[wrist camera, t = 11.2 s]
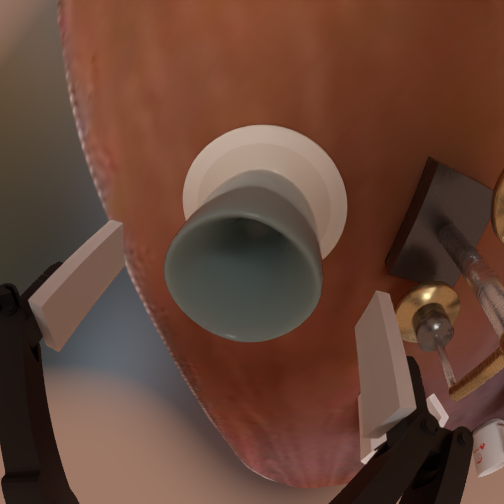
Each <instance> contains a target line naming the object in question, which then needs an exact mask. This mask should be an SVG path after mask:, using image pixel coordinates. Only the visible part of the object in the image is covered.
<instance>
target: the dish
mask: <svg viewBox="0 0 504 504" xmlns="http://www.w3.org/2000/svg"><path fill="white" fill-rule="evenodd" d="M254 169H265V170H270V171H274V172H276V173H279V174H281V175H283V176H284V177H286V178H287V179H289V180H290V181H292V182H293V183H294V184H295V185H296V186H297V187H298V188H299V189H300V190H301V192H302V193H303V194H304V196H305V197H306V198H307V200H308V202H309V204H310V206H311V208H312V210H313V213H314V216H315V219H316V223H317V227H318V232H319V237H320V244H321V253H322V260H323V259H324V258H325V257H326V256H327V255H328V254H329V253H330V252H331V251H332V250H333V248H334V247H335V245H336V244H337V242H338V241H339V239H340V236H341V234H342V232H343V229H344V226H345V223H346V217H347V196H346V190H345V186H344V183H343V180H342V178H341V176H340V173H339V171H338V169H337V167H336V165H335V164H334V162H333V161H332V159H331V158H330V156H329V155H328V154H327V153H326V152H325V151H324V149H322V148H321V147H320V146H319V145H318V144H317V143H316V142H314V141H313V140H311V139H310V138H308V137H307V136H305V135H303V134H301V133H299V132H297V131H295V130H292V129H289V128H286V127H282V126H277V125H268V124H257V125H248V126H244V127H240V128H237V129H234V130H232V131H229V132H227V133H225V134H223V135H222V136H220V137H218V138H217V139H215V140H214V141H212V142H211V143H210V144H208V145H207V146H206V147H205V148H204V149H203V150H202V151H201V152H200V153H199V155H198V156H197V157H196V159H195V160H194V162H193V163H192V165H191V167H190V169H189V171H188V174H187V177H186V180H185V184H184V189H183V209H184V214H185V219H186V221H187V219H188V218H189V217H190V216H191V215H192V213H193V212H194V211H195V210H196V209H197V207H198V206H199V205H200V204H201V203H202V202H203V200H204V199H205V198H206V197H207V196H208V195H209V194H210V193H211V192H212V191H213V190H214V189H216V188H217V187H218V186H219V185H221V184H222V183H223V182H224V181H226V180H227V179H229V178H231V177H233V176H235V175H237V174H239V173H241V172H245V171H248V170H254Z"/></svg>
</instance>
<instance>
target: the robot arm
mask: <svg viewBox="0 0 504 504" xmlns="http://www.w3.org/2000/svg"><path fill="white" fill-rule="evenodd" d="M124 266H125V260H124V238H123V223H122V222H118V221H114V220H110V221H109V222H108V223H107V224H105V225H104V226H103V227H102V228H101V229H100V230H99V231H97V232H96V233H95V234H94V235H93V236H92V237H91V238H90V239H89V240H88V241H86V242H85V243H84V244H83V245H82V246H81V247H80V248H79V249H78V250H77V251H76V252H75V253H74V254H73V255H72V256H70V257H69V258H68V259H67V260H66V261H65V263H62V262H57V263H55V264H53V265H51V266H50V267H49V268H48V269H47V270H46V271H45V272H44V273H43V275H41V276H40V277H39V278H38V280H36V281H35V282H34V283H33V284H32V285H31V286H30V287H29V288H28V289H27V290H26V291H25V292H24V293H23V294H22V295H21V296H19V293H18V290H17V288H16V286H15V285H13V284H11V283H5V284H2V285H0V445H1V451H2V456H3V462H4V467H5V475H4V476H3V478H2V480H1V486H2V491H3V495H4V499H5V502H6V504H79V502H78V500H77V498H76V496H75V495H74V493H73V492H72V491H71V489H70V487H69V484H68V482H67V479H66V476H65V472H64V469H63V466H62V463H61V459H60V456H59V452H58V448H57V445H56V440H55V437H54V433H53V428H52V423H51V419H50V414H49V408H48V403H47V397H46V390H45V385H44V377H43V368H42V359H41V347H40V344H39V341H40V340H41V338H42V337H43V339H44V341H45V343H46V345H47V346H49V347H51V348H52V349H54V350H56V351H58V352H59V351H60V350H61V349H62V347H63V346H64V344H65V343H66V342H67V340H68V339H69V337H70V336H71V335H72V333H73V332H74V330H75V329H76V328H77V326H78V325H79V324H80V322H81V321H82V319H83V318H84V317H85V315H86V314H87V313H88V311H89V310H90V309H91V308H92V306H93V305H94V304H95V302H96V301H97V299H98V298H99V297H100V296H101V295H102V293H103V292H104V291H105V290H106V288H107V287H108V286H109V285H110V283H111V282H112V281H113V279H114V278H115V277H116V276H117V275H118V274H119V272H120V271H121V270H122V269H123V267H124ZM355 337H356V345H357V355H358V365H359V376H360V389H361V404H362V424H363V438H370V439H379V438H380V437H382V436H383V435H384V434H386V438H387V440H386V441H385V442H383V443H382V444H380V445H379V446H378V447H376V448H375V449H374V451H376V450H377V451H376V452H375V454H374V455H373V456H372V457H371V459H370V460H369V461H368V462H367V463H366V464H365V466H364V467H363V468H362V469H361V470H360V471H359V472H358V474H357V475H356V476H355V477H354V478H353V479H352V480H351V481H350V482H349V483H348V485H347V486H346V487H345V488H344V489H343V490H342V491H341V492H340V493H339V494H338V495H337V496H336V497H335V498H334V499H333V500H332V501H331V502H330V503H329V504H396V503H397V501H398V500H399V498H400V497H401V496H402V497H401V500H400V502H399V504H460V502H461V498H462V495H463V491H464V487H465V483H466V479H467V475H468V471H469V466H470V461H471V456H472V450H473V444H474V439H473V435H472V433H471V432H470V430H469V429H468V428H466V427H463V426H461V427H458V428H456V429H455V430H454V431H451V430H448V429H445V428H442V427H440V425H439V422H438V420H437V419H436V418H435V417H434V416H433V415H432V414H430V413H429V412H428V407H427V401H426V397H425V392H424V387H423V385H422V384H423V383H422V378H421V374H420V370H419V366H418V364H417V363H416V361H415V359H414V358H413V357H411V356H406V354H405V350H404V346H403V342H402V338H401V334H400V330H399V326H398V322H397V319H396V315H395V312H394V308H393V305H392V301H391V298H390V294H389V293H385V292H381V291H377V290H376V292H375V294H374V295H373V297H372V299H371V301H370V302H369V304H368V306H367V308H366V309H365V311H364V313H363V314H362V316H361V318H360V319H359V321H358V323H357V324H356V326H355ZM402 494H403V495H402Z"/></svg>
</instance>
